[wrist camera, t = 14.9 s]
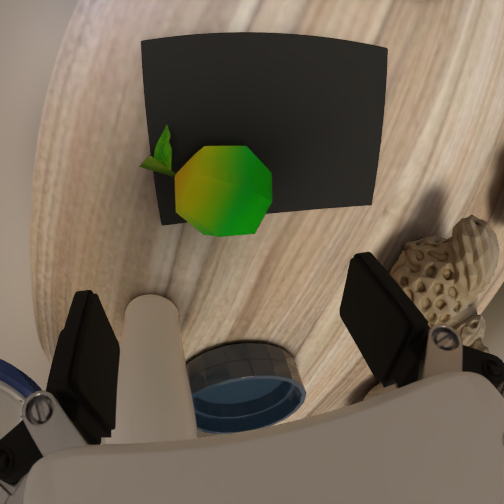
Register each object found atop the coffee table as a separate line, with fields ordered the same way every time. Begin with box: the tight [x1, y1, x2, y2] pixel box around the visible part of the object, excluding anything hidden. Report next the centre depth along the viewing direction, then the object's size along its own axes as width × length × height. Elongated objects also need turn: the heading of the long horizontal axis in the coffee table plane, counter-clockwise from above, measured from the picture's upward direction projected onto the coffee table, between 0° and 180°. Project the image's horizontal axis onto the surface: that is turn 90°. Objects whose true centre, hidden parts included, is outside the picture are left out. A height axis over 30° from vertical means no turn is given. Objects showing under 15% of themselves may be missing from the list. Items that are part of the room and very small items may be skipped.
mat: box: [141, 32, 388, 225], centre depth 21 cm, size 18×14×1 cm
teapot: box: [389, 215, 500, 389], centre depth 27 cm, size 21×12×15 cm, turn 173°
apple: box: [139, 125, 272, 237], centre depth 19 cm, size 7×6×9 cm
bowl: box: [186, 343, 306, 434], centre depth 36 cm, size 15×15×5 cm
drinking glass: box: [105, 294, 198, 444], centre depth 23 cm, size 7×7×15 cm
